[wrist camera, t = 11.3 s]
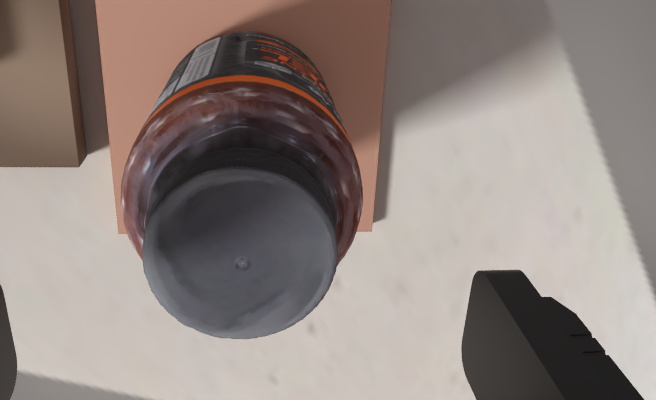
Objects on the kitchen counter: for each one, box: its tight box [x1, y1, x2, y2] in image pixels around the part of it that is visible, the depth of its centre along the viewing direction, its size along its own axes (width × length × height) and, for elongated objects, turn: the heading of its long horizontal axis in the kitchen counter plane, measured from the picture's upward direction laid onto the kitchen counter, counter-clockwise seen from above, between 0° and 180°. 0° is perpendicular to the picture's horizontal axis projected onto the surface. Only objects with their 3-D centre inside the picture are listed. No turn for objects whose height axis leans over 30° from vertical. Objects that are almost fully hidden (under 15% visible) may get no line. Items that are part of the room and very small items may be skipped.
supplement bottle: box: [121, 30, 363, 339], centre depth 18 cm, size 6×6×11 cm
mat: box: [95, 0, 392, 234], centre depth 23 cm, size 10×10×1 cm
